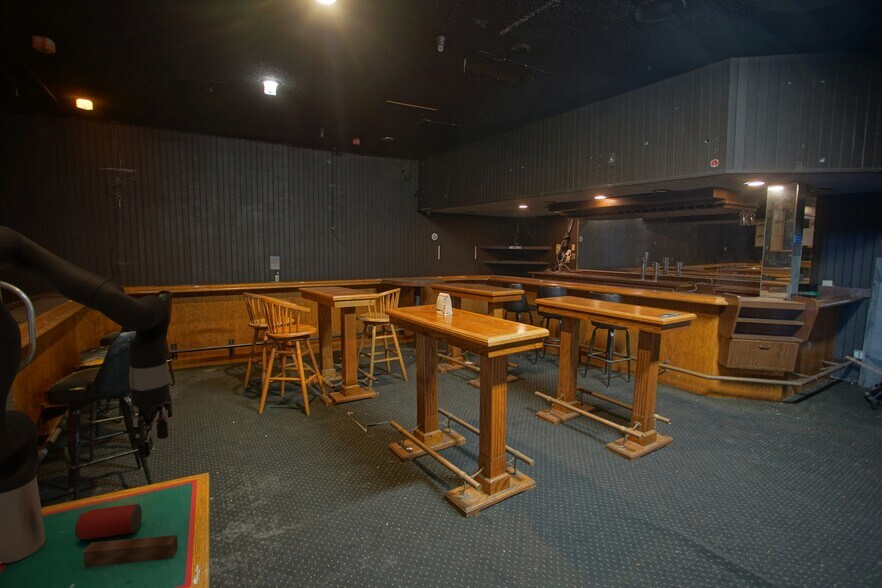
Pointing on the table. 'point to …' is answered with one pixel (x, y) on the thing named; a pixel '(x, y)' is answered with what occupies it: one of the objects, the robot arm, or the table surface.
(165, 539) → the walnut plank
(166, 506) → the table surface
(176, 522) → the table surface
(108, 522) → the beer can
